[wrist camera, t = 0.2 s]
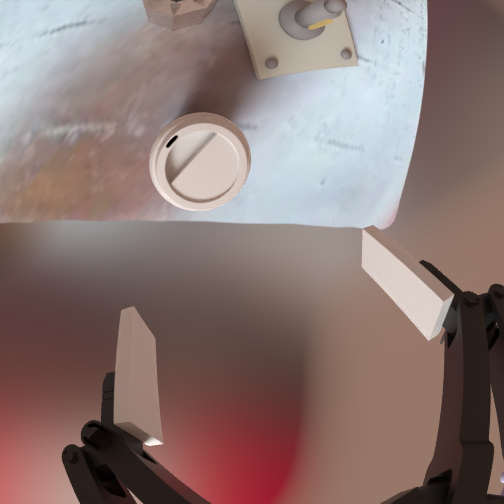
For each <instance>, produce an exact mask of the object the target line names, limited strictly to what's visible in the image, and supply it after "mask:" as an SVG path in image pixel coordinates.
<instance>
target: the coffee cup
mask: <svg viewBox="0 0 504 504" xmlns="http://www.w3.org/2000/svg"><path fill="white" fill-rule="evenodd" d="M250 165H251V155H250V148H249V145H248V142H247V140H246V138H245V136H244V134H243V133H242V131H241V130H240V129H239V128H238V127H237V126H236V125H235V124H234V123H233V122H231V121H230V120H228V119H227V118H225V117H223V116H220V115H217V114H213V113H206V112H199V113H191V114H187V115H184V116H182V117H180V118H178V119H176V120H174V121H172V122H171V123H170V124H168V125H167V126H166V127H165V128H164V129H163V130H162V131H161V132H160V134H159V135H158V137H157V138H156V140H155V142H154V144H153V146H152V149H151V153H150V158H149V169H150V175H151V178H152V181H153V183H154V185H155V187H156V189H157V190H158V192H159V193H160V194H161V195H162V196H163V197H164V198H165V199H166V200H167V201H169V202H170V203H171V204H173V205H175V206H177V207H179V208H182V209H186V210H191V211H205V210H210V209H214V208H217V207H219V206H221V205H223V204H225V203H227V202H228V201H230V200H231V199H232V198H233V197H234V196H235V195H236V194H237V193H238V192H239V191H240V190H241V188H242V187H243V185H244V184H245V182H246V180H247V177H248V174H249V171H250Z"/></svg>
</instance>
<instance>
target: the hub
mask: <svg viewBox="0 0 504 504" xmlns="http://www.w3.org/2000/svg"><path fill="white" fill-rule="evenodd" d="M216 1H217V0H183V1H179V2H174V1H171V0H143V3H144V7H145V10H146V13H147V17H148V20H149V22H151V23H153V24H156V25H159V26H162V27H164V28H167V29H170V30H172V31H174V30H178V29H181V28H185V27H188V26H192V25H196V24H200V23H201V22H202V21H203V19H204V18H205V17H206V15H207V14H208V13H209V11H210V10H211V9H212V7H213V6H214V5H215V3H216Z"/></svg>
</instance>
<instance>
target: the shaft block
mask: <svg viewBox="0 0 504 504" xmlns="http://www.w3.org/2000/svg"><path fill="white" fill-rule="evenodd" d="M233 2H234V5H235V8H236V11H237V14H238V17H239V20H240V23H241V26H242V30H243V33H244V36H245V40H246V43H247V46H248V50H249V53H250V56H251V60H252V63H253V67H254V70H255V74H256V77H257V80H261V79H266V78H271V77H276V76H281V75H287V74H293V73H299V72H305V71H312V70H320V69H328V68H338V67H349V66H358V62H357V58H356V53H355V49H354V45H353V41H352V37H351V33H350V29H349V26H348V22H347V19H346V15H345V12H344V10H345V9H346V8H347V3H346V1H345V0H233Z"/></svg>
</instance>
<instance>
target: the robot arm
mask: <svg viewBox="0 0 504 504" xmlns="http://www.w3.org/2000/svg"><path fill="white" fill-rule="evenodd" d="M362 267H363V268H364V270H365V271H366V272H367V273H368V274H369V275H370V276H371V277H372V278H373V279H374V280H375V281H376V282H377V283H378V284H379V285H380V287H381V288H382V289H383V290H384V291H385V292H386V293H387V294H388V295H389V296H390V297H391V298H392V299H393V301H394V302H395V303H396V304H397V305H398V306H399V307H400V308H401V310H402V311H403V312H404V313H405V314H406V315H407V316H408V317H409V318H410V320H411V321H412V322H413V323H414V324H415V325H416V327H417V328H418V329H419V330H420V331H421V332H422V334H423V335H424V336H425V337H426V338H427V340H428V341H429V340H430V339H432V338H433V337H435V336H436V335H438V334H439V332H440V330H441V328H442V326H443V327H444V328H445V329H446V330H445V332H444V335H443V337H442V339H441V342H440V343H441V344H442V343H443V341H445V352H444V354H445V355H444V381H443V395H442V407H441V415H440V422H439V429H438V435H437V441H436V447H435V452H434V456H433V459H432V461H431V463H430V465H429V466H428V469H427V472H426V475H425V479H424V482H423V486H421V487H415V488H413V489H409V490H407V491H403V492H400V493H398V494H397V495H395V496H393V497H391V498H390V499H388V500H386V501H384V502H382V503H381V504H504V488H503V491H502V493H501V495H493V494H487V490H488V485H489V480H490V475H491V469H492V463H493V456H494V446H493V443H491V442H490V441H489V427H490V403H491V395H490V394H491V393H490V391H491V390H490V383H491V388H492V392H493V397H494V402H495V406H496V412H497V418H498V424H499V432H500V439H501V448H502V455H503V459H504V286H502V285H500V284H493V285H491V286H490V288H489V290H488V293H484V294H481V295H477V294H475V293H473V292H470V291H466V292H462V291H461V290H460V289H459V288H458V287H457V286H456V285H455V284H454V283H453V282H451V281H450V280H449V279H448V278H447V277H446V276H445V275H443V274H442V273H441V272H440V271H438V269H437V268H436V267H434V266H433V265H432V264H431V263H428V262H426V261H424V260H422V261H420V262H418V261H417V260H415V259H414V258H413V257H412V256H411V255H410V254H408V253H407V252H406V251H405V250H404V249H402V248H401V247H400V246H399V245H398V244H396V243H395V242H394V241H393V240H391V239H390V238H389V237H388V236H386V235H385V234H384V233H383V232H381V231H380V230H379V229H378V228H376V227H375V226H374V225H372V226H369V227H366V228H364V229H363V243H362ZM496 323H497V325H498V327H497V325H496ZM155 341H156V339H155V337H154V336H153V335H152V333H151V332H150V330H149V329H148V327H147V326H146V324H145V323H144V321H143V320H142V318H141V317H140V315H139V314H138V312H137V311H136V309H135V308H134V307H130V308H127V309H124V310H121V318H120V326H119V334H118V345H117V356H116V370H115V371H114V372H110V373H107V374H106V377H105V379H104V381H103V391H102V392H103V394H102V408H101V422H99V421H96V420H92V421H89V422H88V423H86V424H85V425H84V427H83V428H82V431H81V440H82V442H83V444H85V446H83V447H78V446H76V445H74V444H71V445H68V446H66V447H65V449H64V450H63V452H62V461H63V464H64V467H65V470H66V472H67V475H68V477H69V480H70V482H71V485H72V487H73V489H74V492H75V494H76V496H77V498H78V500H79V502H80V504H137V503H136V501H135V500H134V498H133V497H132V495H131V494H130V492H129V490H130V491H131V492H132V493H133V494H134V495H135V496H136V497H137V498H138V499H139V500H140V501H141V502H142V503H143V504H211V503H210V502H208V501H207V500H205V499H204V498H202V497H201V496H200V495H198V494H197V493H196V492H194V491H193V490H192V489H190V488H189V487H187V486H186V485H185V484H184V483H182V482H181V481H180V480H178V479H177V478H176V477H175V476H174V475H172V474H171V473H170V472H169V471H168V470H166V469H165V468H164V467H163V466H162V465H161V464H160V463H158V462H157V461H156V460H155V459H154V458H153V457H152V456H151V455H150V454H149V453H147V452H146V451H145V450H144V449H143V445H142V442H143V443H145V444H146V445H148V446H151V445H158V444H163V438H162V429H161V420H160V410H159V398H158V385H157V368H156V342H155ZM500 480H501V482H502V483H504V472H503V473H502V474H501V476H500ZM127 488H128V489H129V490H128V489H127Z"/></svg>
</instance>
